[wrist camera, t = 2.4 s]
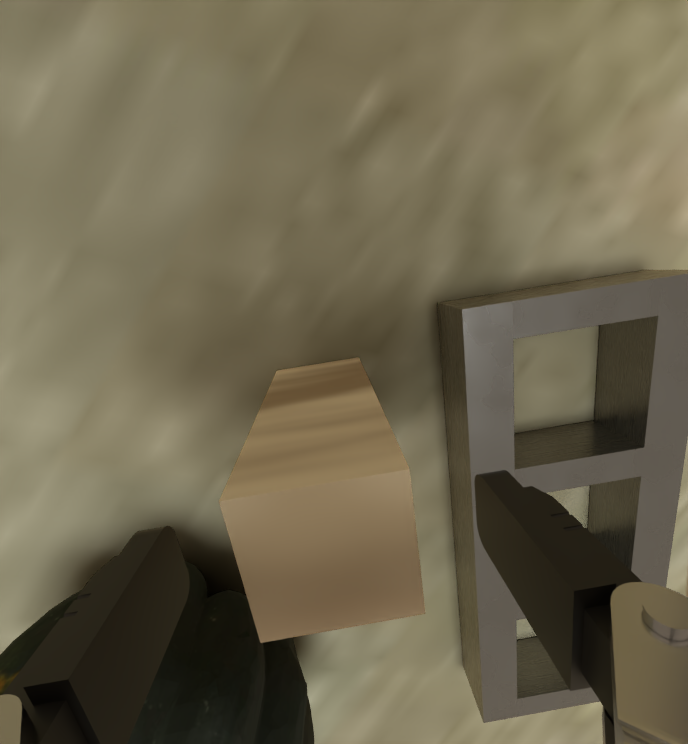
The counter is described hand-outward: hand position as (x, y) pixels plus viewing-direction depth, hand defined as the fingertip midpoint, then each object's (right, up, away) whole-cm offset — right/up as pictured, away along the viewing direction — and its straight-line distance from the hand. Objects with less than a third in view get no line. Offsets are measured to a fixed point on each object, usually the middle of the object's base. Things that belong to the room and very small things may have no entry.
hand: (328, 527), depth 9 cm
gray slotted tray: (+12, -3, +11) cm, 16 cm away
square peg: (-1, +3, +8) cm, 9 cm away
